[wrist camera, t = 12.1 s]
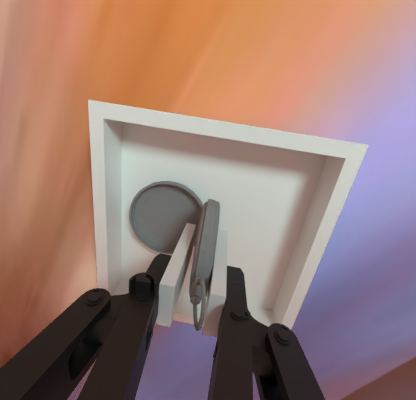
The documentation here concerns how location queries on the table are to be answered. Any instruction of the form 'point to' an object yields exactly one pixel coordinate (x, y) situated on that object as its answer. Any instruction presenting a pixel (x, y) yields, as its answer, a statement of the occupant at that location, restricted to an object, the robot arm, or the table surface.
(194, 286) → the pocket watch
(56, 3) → the table surface
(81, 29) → the table surface
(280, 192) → the tray
